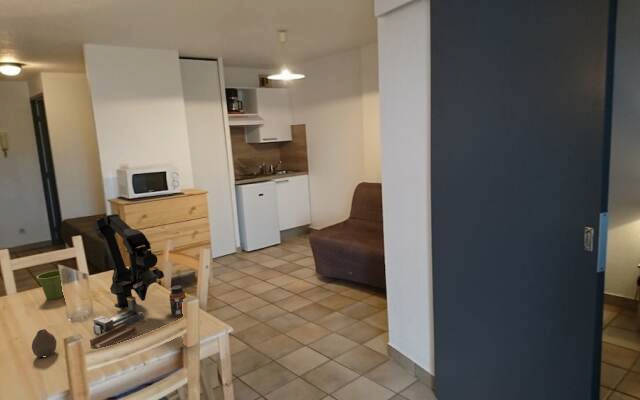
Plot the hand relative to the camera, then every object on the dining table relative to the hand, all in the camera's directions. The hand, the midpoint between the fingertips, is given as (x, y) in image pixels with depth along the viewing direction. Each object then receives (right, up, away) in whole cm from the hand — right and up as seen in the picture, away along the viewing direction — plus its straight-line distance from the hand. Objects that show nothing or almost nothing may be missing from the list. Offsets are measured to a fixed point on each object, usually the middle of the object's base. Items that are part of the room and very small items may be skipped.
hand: (143, 300), depth 167 cm
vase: (-21, -12, -28) cm, 37 cm away
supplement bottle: (+15, -5, -1) cm, 16 cm away
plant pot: (-51, -5, +24) cm, 57 cm away
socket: (-5, -7, -8) cm, 12 cm away
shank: (-7, -8, -12) cm, 16 cm away
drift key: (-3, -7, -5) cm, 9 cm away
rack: (-2, -9, -20) cm, 22 cm away
